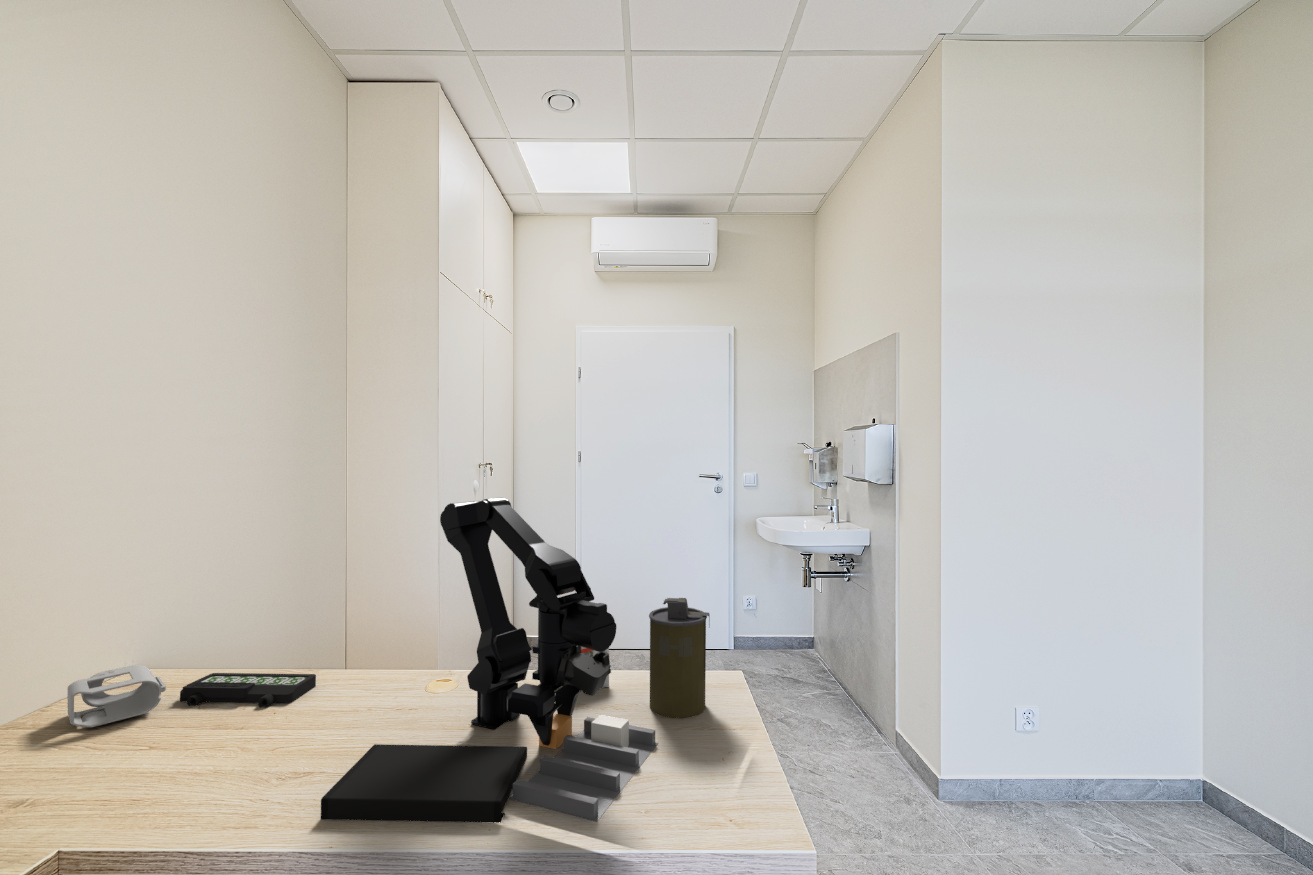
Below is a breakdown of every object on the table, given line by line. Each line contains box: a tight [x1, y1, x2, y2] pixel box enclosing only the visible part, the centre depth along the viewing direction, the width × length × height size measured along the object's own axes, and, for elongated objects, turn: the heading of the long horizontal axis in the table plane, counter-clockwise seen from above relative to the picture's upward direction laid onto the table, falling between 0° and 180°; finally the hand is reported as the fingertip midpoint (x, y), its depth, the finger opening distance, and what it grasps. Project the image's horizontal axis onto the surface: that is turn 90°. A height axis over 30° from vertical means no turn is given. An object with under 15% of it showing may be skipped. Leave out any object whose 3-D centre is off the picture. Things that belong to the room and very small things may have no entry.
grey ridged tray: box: [508, 716, 659, 823], centre depth 88 cm, size 13×21×3 cm, turn 159°
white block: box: [591, 714, 630, 747], centre depth 94 cm, size 5×3×4 cm, turn 69°
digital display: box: [179, 672, 317, 708], centre depth 115 cm, size 21×3×10 cm
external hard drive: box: [320, 743, 528, 824], centre depth 84 cm, size 14×23×3 cm, turn 89°
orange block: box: [538, 713, 573, 750], centre depth 96 cm, size 5×3×4 cm, turn 159°
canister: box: [648, 597, 711, 720], centre depth 109 cm, size 11×10×20 cm
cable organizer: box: [67, 664, 167, 728], centre depth 107 cm, size 7×12×12 cm
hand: (555, 736), depth 96 cm, fingers open, 5 cm apart
